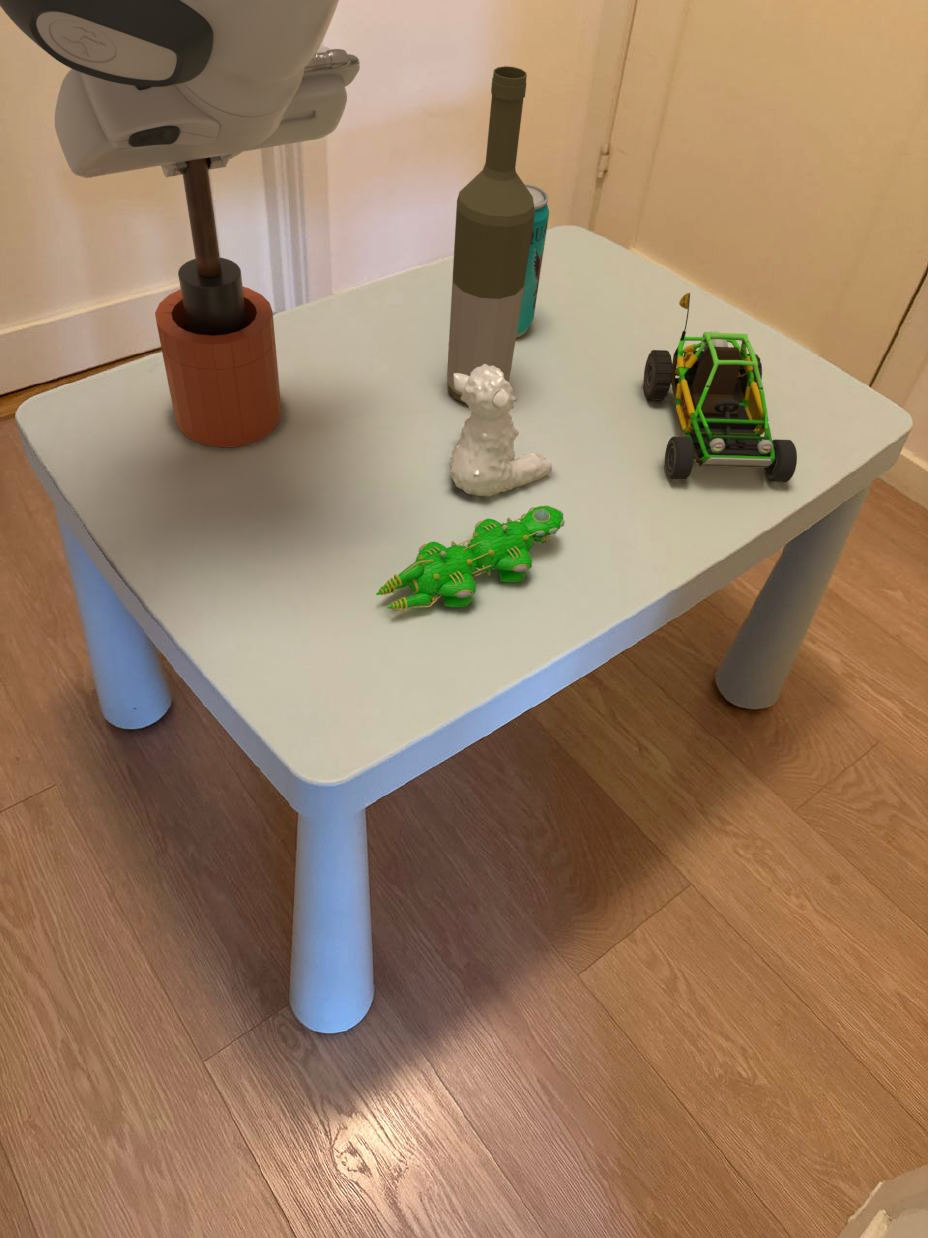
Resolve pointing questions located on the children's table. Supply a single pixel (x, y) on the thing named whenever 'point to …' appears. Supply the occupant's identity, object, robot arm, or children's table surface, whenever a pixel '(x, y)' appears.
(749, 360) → the motor vehicle
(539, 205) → the beverage can
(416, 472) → the children's table surface
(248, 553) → the children's table surface
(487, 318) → the bottle
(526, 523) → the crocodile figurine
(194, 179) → the rod on round base
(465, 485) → the sitting furry creature
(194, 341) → the terracotta flower pot
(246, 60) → the robot arm
